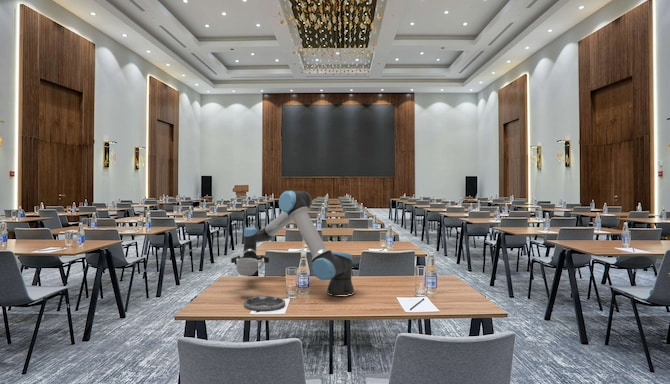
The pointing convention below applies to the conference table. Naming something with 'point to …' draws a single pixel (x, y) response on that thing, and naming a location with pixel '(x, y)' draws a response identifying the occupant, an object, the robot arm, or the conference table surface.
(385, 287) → the conference table surface
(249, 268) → the teacup
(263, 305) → the dark grey plate
